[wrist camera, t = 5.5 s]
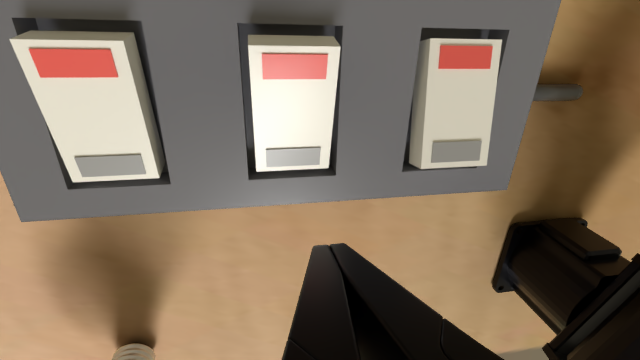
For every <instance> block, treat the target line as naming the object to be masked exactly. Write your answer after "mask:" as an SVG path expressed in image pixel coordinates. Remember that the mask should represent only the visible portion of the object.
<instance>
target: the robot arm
mask: <svg viewBox="0 0 640 360" xmlns="http://www.w3.org/2000/svg"><path fill="white" fill-rule="evenodd" d="M587 224H588V223H587V221H586V220H584V219H582V218H564V219H552V220H543V221H534V222H523V223H515V224H513V225H512V226H511V228H510V230H509V233H508V236H507V240H506V243H505V246H504V249H503V253H502V256H501V259H500V262H499V266H498V269H497V272H496V275H495V279H494V282H493V285H492V287H493V289H494V290H495V291H496V292H497V293H502V292H510V291H515V292H516V293H517V294H518V295H519V296H520V297H521V298H522V299H523V300H524V301H525V303H526V304H527V305H528V306H529V307H530V308H531V309H532V310H533V311H534V312H535V313H536V314H537V315H538V316H539V317H540V318H541V319H542V320H543V321H544V322H545V323H546V324H547V325H548V326H549V327H550V328H551V329H552V330H553V331H554V332H555V333H556V334H557V336H556V337H555V338H554V339H553V340H552V341H551V342H550V343H547V344H545V345H544V346H543V347H542V349H543V351H544V352H545V354H546V355H547V357H548V358H549V360H640V254H638V253H637V254H636V255H635V256H634V257H633V258H632V259H631V260H633V261H632V262H630V261H628V260H627V259H625V258H624V257H622V256H620V255H621V253H622V251H621V249H620V248H619V247H617V246H616V245H614V244H613V243H611V242H609V241H608V240H606V239H604V238H603V237H601V236H600V235H598V234H596V233H595V232H593V231H591V230H590V229H588V228H587ZM282 360H504V359H502V358H501V357H499V356H498V355H496V354H495V353H493V352H492V351H490V350H489V349H487V348H486V347H484V346H483V345H481V344H480V343H478V342H477V341H476V340H474V339H473V338H471V337H470V336H469V335H467V334H466V333H464V332H463V331H462V330H460V329H459V328H457V327H456V326H455V325H453V324H452V323H451V322H449V321H448V320H447V319H443V317H442V316H441V315H440V314H438V313H437V312H436V311H434V310H433V309H432V308H430V307H429V306H428V305H426V304H425V303H424V302H422V301H421V300H420V299H418V298H417V297H416V296H414V295H413V294H412V293H410V292H409V291H408V290H406V289H405V288H404V287H402V286H401V285H400V284H398V283H397V282H396V281H394V280H393V279H392V278H390V277H389V276H388V275H386V274H385V273H384V272H382V271H381V270H380V269H378V268H377V267H376V266H374V265H373V264H372V263H370V262H369V261H368V260H366V259H365V258H364V257H362V256H361V255H360V254H358V253H357V252H356V251H354V250H353V249H352V248H350V247H349V246H348V245H346V244H344V243H340V244H331V245H330V246H328V245H317V246H314V247H313V248H312V252H311V255H310V259H309V263H308V266H307V270H306V274H305V277H304V281H303V285H302V288H301V292H300V296H299V300H298V303H297V307H296V311H295V314H294V318H293V322H292V325H291V329H290V333H289V336H288V341H287V343H286V346H285V350H284V354H283V357H282Z"/></svg>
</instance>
